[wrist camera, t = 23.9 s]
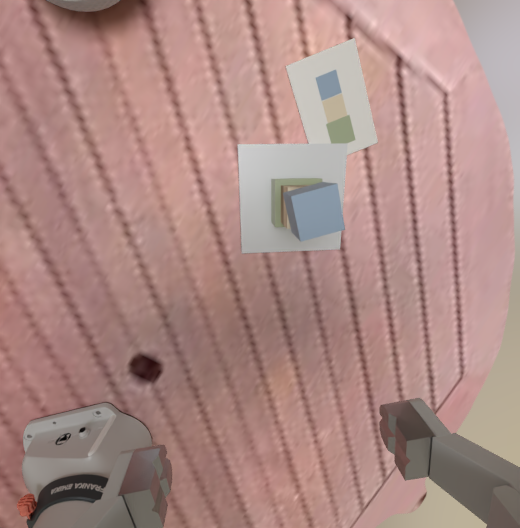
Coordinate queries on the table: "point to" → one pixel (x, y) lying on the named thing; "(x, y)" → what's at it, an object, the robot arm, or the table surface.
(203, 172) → the table surface
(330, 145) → the build plate
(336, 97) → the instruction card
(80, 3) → the cereal bowl
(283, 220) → the beech block
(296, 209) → the slate blue block
